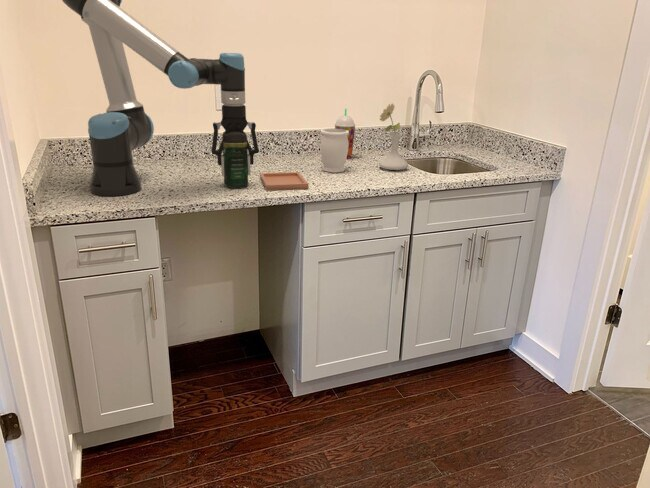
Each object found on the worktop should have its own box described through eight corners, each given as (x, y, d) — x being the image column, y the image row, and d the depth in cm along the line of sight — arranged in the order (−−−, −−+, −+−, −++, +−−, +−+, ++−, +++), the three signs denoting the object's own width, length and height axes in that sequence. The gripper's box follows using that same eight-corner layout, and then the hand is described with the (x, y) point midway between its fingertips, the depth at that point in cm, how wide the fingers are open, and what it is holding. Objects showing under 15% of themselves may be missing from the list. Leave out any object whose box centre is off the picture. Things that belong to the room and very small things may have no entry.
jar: (314, 169, 202) (314, 130, 197) (332, 165, 209) (333, 127, 204) (334, 175, 196) (336, 134, 190) (352, 170, 203) (354, 131, 197)
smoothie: (332, 155, 227) (334, 107, 220) (352, 155, 228) (354, 107, 221) (335, 159, 219) (336, 110, 212) (355, 159, 220) (357, 110, 213)
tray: (266, 190, 174) (266, 185, 174) (260, 178, 189) (259, 173, 188) (308, 189, 177) (308, 183, 177) (298, 176, 192) (298, 172, 191)
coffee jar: (249, 188, 176) (248, 132, 169) (225, 189, 174) (223, 132, 167) (246, 181, 185) (245, 127, 178) (223, 182, 183) (220, 127, 176)
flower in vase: (394, 164, 215) (399, 100, 206) (413, 170, 206) (419, 104, 197) (369, 167, 208) (372, 101, 199) (387, 174, 199) (392, 105, 190)
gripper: (200, 106, 164) (204, 178, 172) (267, 105, 169) (268, 176, 177) (199, 103, 170) (203, 172, 179) (264, 102, 175) (265, 170, 184)
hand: (236, 174), depth 178 cm, fingers closed on coffee jar, 8 cm apart
